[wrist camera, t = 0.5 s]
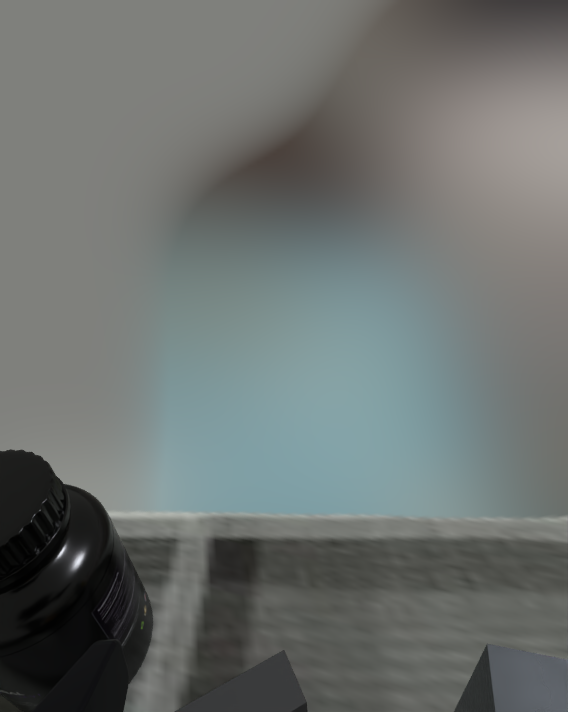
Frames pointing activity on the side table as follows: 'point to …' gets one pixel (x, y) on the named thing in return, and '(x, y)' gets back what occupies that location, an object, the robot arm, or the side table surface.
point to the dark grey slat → (256, 691)
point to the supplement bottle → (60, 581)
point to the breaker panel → (516, 683)
